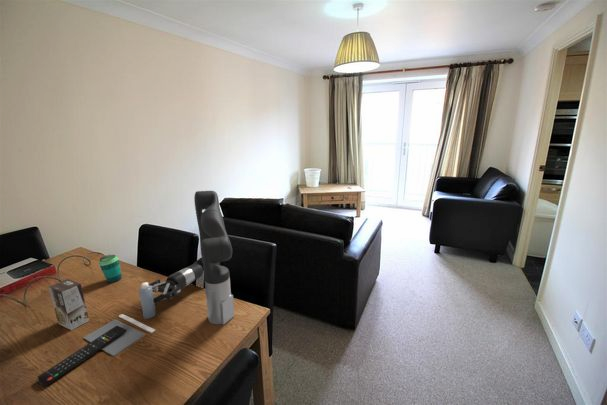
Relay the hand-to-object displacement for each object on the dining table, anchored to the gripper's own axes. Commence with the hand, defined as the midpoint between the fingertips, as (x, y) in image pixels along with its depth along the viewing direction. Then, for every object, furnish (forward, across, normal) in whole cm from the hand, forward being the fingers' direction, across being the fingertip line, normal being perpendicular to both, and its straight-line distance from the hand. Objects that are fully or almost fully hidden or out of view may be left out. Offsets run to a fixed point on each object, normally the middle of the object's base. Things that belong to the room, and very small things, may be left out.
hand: (146, 298), depth 109 cm
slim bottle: (0, 0, +8) cm, 8 cm away
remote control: (+23, +1, +7) cm, 24 cm away
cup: (-9, -41, +8) cm, 43 cm away
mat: (+14, 0, +8) cm, 15 cm away
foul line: (+6, 0, +8) cm, 9 cm away
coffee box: (+16, -22, +8) cm, 28 cm away
